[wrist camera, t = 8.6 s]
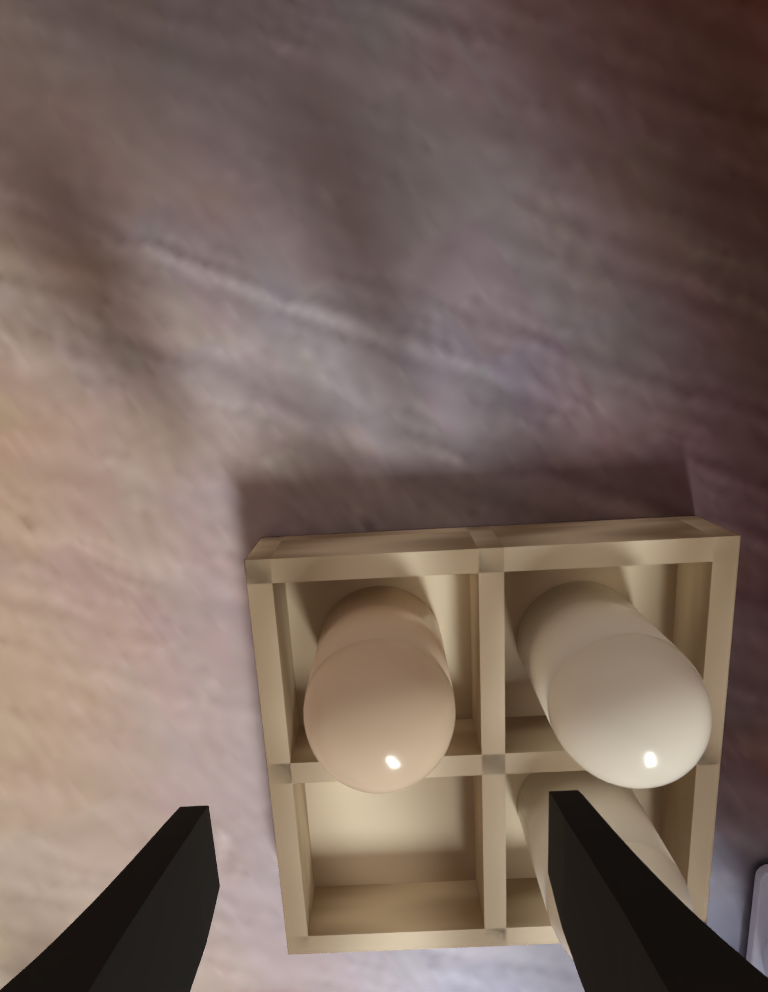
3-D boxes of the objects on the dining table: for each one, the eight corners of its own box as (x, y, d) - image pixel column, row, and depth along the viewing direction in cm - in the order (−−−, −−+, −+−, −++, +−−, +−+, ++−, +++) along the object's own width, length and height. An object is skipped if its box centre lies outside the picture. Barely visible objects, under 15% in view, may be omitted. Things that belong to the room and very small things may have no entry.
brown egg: (439, 583, 19) (464, 677, 13) (443, 694, 20) (467, 830, 14) (316, 588, 19) (284, 685, 13) (325, 700, 20) (299, 836, 14)
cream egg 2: (630, 748, 21) (730, 902, 15) (631, 844, 22) (725, 1027, 16) (513, 758, 21) (565, 916, 15) (520, 854, 22) (571, 1039, 16)
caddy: (695, 515, 19) (740, 535, 17) (670, 876, 23) (704, 937, 20) (261, 537, 20) (244, 560, 17) (298, 892, 23) (288, 954, 20)
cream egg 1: (638, 575, 19) (752, 666, 13) (639, 687, 20) (747, 820, 14) (513, 587, 19) (569, 683, 13) (520, 698, 20) (575, 835, 14)
